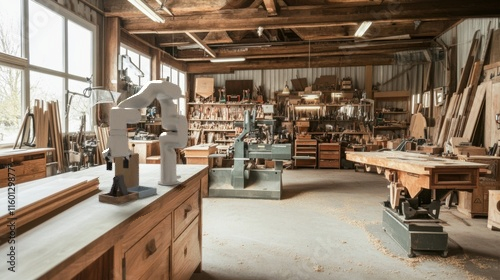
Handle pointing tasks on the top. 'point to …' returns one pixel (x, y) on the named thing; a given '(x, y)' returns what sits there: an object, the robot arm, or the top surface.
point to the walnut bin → (117, 199)
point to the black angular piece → (118, 186)
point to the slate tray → (143, 191)
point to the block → (128, 170)
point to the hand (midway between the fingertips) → (117, 169)
